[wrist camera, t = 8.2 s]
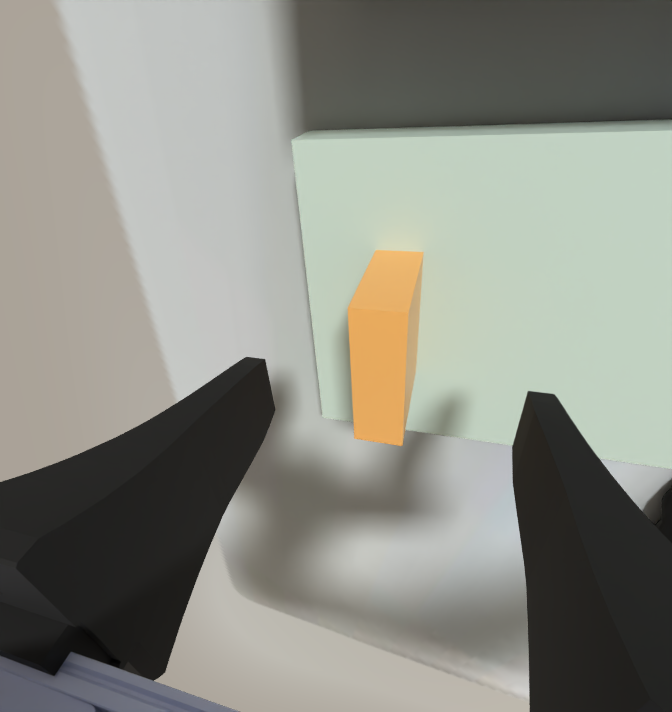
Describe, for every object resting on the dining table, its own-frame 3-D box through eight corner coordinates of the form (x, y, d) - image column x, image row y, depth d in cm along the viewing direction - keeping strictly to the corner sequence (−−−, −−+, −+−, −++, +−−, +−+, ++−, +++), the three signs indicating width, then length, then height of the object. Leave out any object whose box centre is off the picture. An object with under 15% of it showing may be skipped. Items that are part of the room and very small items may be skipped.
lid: (918, 111, 10) (1264, 164, 6) (700, 441, 17) (780, 581, 13) (309, 130, 14) (232, 170, 10) (332, 392, 21) (294, 487, 17)
